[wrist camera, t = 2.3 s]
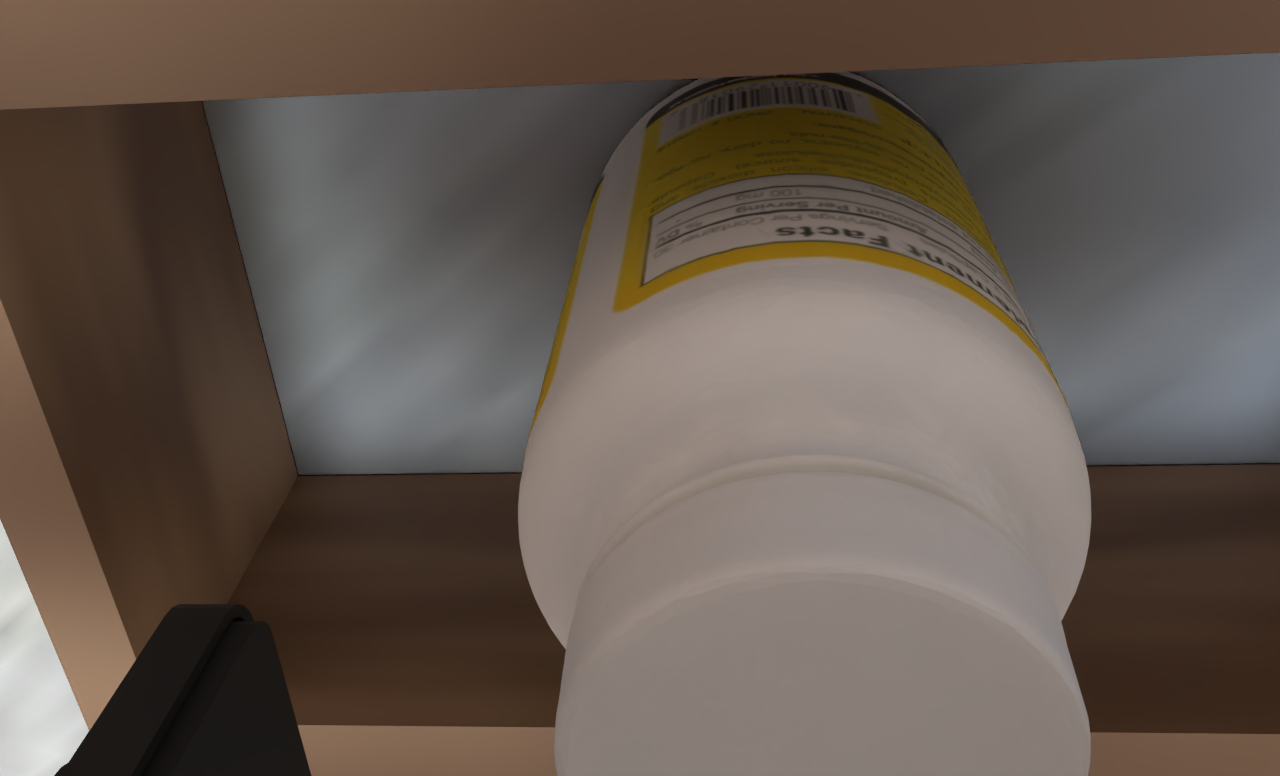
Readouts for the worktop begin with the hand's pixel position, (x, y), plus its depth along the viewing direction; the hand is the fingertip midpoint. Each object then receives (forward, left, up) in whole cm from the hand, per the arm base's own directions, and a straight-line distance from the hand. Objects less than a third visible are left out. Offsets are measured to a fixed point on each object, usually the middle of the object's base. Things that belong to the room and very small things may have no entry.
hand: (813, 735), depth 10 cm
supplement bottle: (-1, 0, -9) cm, 9 cm away
